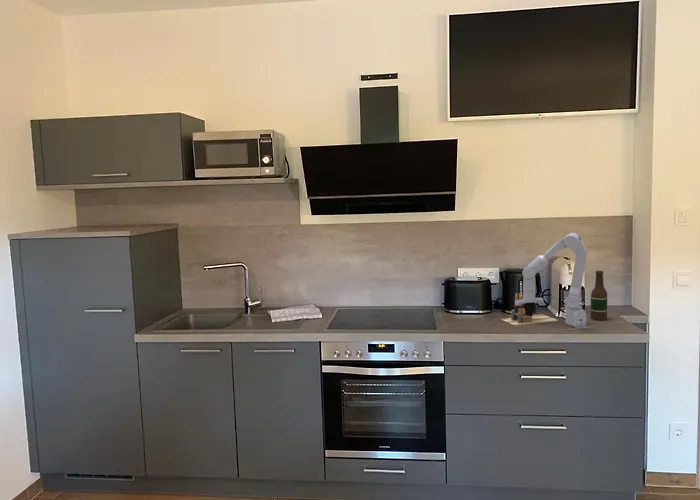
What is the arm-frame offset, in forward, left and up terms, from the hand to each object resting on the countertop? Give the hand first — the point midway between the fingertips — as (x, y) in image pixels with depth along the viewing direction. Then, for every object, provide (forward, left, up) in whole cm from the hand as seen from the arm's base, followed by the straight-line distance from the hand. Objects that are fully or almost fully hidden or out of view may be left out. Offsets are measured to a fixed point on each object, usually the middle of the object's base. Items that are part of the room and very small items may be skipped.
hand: (529, 317), depth 289 cm
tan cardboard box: (0, +4, -1) cm, 4 cm away
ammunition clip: (+13, -6, -2) cm, 15 cm away
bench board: (0, 0, -2) cm, 2 cm away
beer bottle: (-8, -34, -2) cm, 35 cm away
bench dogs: (0, +7, -2) cm, 7 cm away
